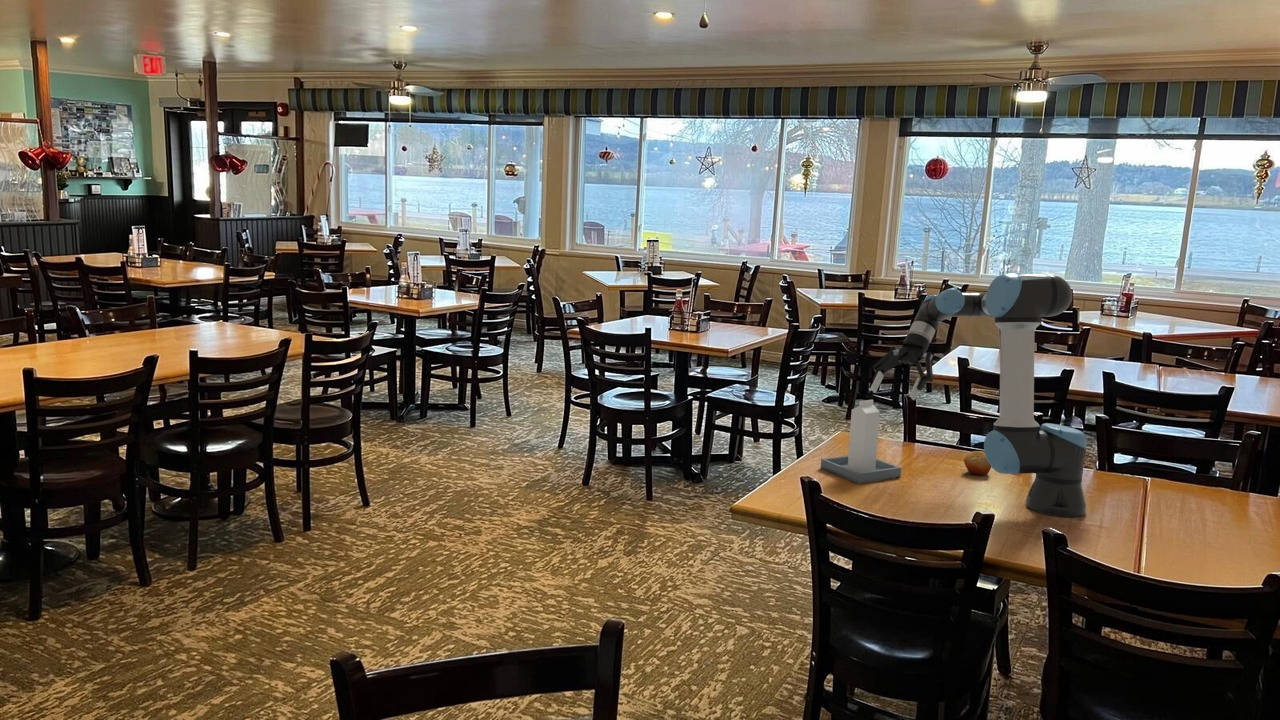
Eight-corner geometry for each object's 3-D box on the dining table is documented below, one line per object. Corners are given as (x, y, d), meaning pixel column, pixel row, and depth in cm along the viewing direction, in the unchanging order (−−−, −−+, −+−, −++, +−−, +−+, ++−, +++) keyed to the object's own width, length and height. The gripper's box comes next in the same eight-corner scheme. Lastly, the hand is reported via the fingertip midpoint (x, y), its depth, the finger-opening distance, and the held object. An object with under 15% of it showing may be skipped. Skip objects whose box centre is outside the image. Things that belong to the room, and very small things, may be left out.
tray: (900, 477, 284) (901, 467, 283) (857, 483, 276) (858, 474, 275) (862, 462, 299) (863, 453, 298) (820, 468, 291) (821, 459, 290)
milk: (847, 469, 288) (851, 399, 284) (861, 466, 291) (865, 397, 287) (862, 474, 283) (866, 403, 279) (875, 471, 286) (880, 401, 282)
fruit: (995, 467, 293) (994, 448, 288) (988, 484, 288) (988, 466, 283) (968, 462, 297) (967, 444, 293) (962, 479, 292) (960, 461, 288)
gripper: (959, 350, 291) (933, 407, 284) (888, 340, 309) (861, 393, 302) (951, 336, 286) (924, 394, 280) (879, 327, 304) (853, 381, 297)
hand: (892, 394), depth 291 cm, fingers open, 13 cm apart
